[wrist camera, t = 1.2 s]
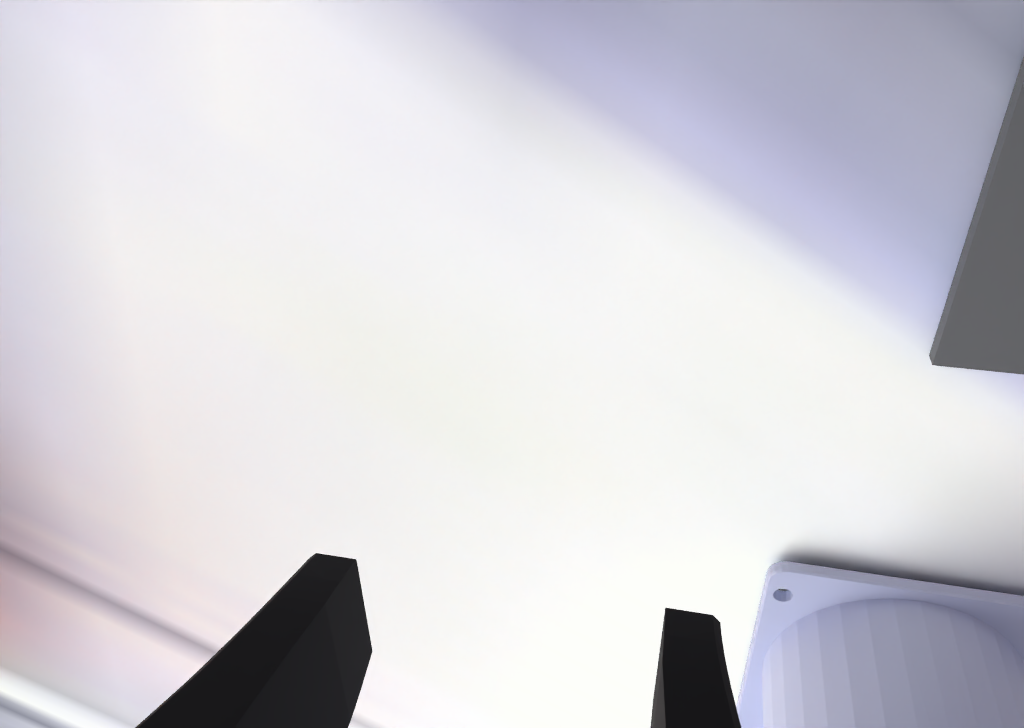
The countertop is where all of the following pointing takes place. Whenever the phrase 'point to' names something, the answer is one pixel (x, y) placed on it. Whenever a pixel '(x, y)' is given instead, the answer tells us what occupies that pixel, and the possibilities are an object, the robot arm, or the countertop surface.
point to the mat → (991, 264)
